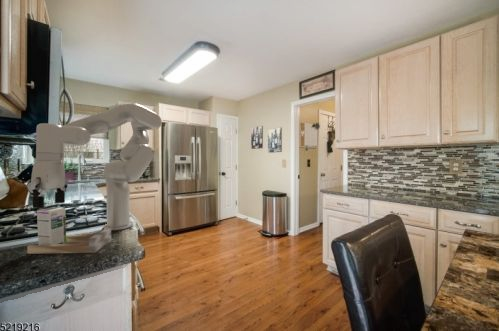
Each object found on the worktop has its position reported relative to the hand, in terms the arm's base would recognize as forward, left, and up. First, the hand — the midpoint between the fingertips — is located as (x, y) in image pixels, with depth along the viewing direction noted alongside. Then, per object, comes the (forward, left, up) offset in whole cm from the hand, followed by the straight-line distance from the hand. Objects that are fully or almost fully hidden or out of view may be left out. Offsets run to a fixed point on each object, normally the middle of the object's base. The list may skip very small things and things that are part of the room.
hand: (49, 205), depth 82 cm
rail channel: (-1, +6, -16) cm, 17 cm away
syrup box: (-1, 0, -16) cm, 16 cm away
